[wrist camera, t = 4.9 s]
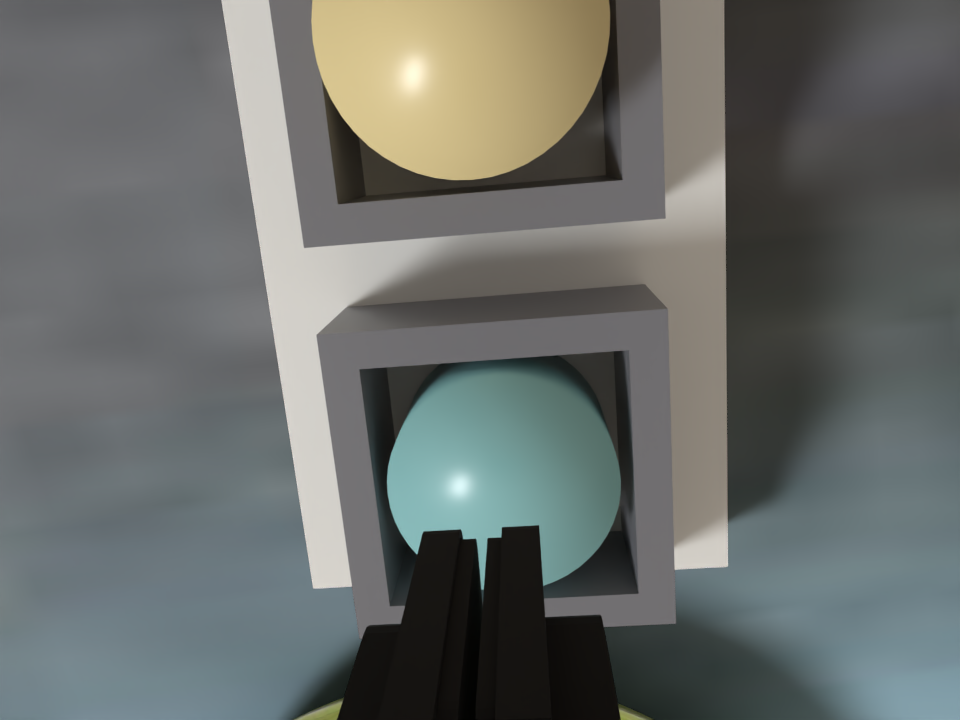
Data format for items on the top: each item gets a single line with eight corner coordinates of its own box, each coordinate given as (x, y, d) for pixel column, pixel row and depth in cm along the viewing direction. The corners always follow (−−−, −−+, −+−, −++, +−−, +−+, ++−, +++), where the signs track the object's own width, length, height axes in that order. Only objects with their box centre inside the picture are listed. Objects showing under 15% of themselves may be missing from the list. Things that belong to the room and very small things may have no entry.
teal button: (395, 348, 19) (374, 384, 16) (601, 333, 19) (615, 367, 16) (417, 534, 21) (400, 597, 18) (609, 523, 20) (625, 585, 17)
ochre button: (332, -74, 16) (291, -124, 13) (586, -101, 15) (602, -160, 12) (364, 184, 17) (332, 191, 14) (599, 163, 17) (616, 166, 14)
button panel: (165, -562, 17) (21, -852, 12) (694, -643, 16) (772, -988, 11) (330, 552, 23) (281, 657, 18) (709, 530, 22) (762, 635, 18)
